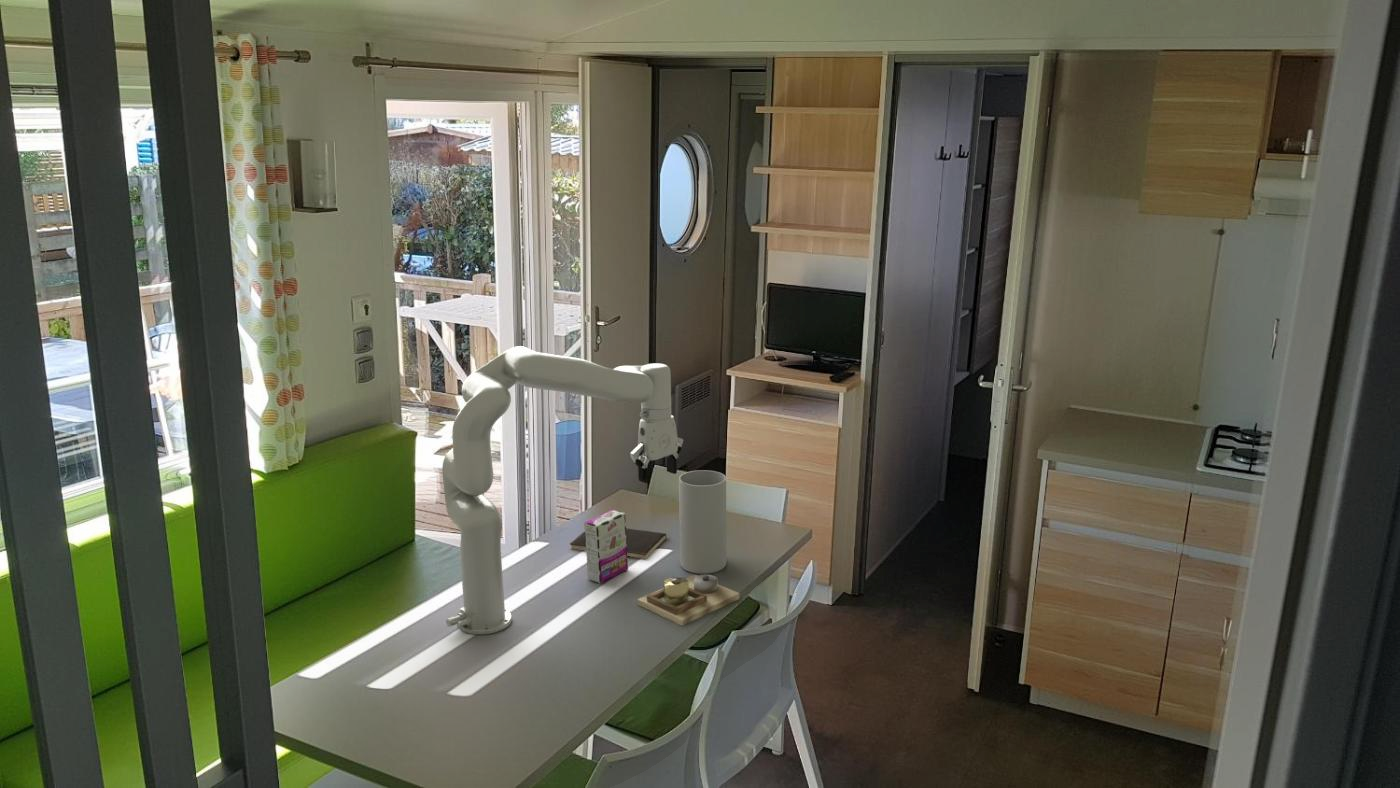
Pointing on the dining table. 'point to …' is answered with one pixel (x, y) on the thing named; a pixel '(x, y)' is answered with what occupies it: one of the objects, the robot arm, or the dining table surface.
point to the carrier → (691, 600)
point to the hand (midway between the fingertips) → (657, 477)
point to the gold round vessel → (676, 591)
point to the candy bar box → (606, 546)
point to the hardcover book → (631, 542)
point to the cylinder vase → (702, 521)
